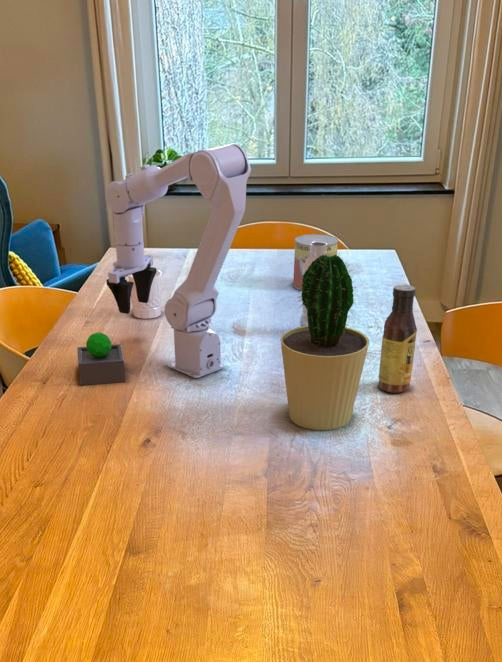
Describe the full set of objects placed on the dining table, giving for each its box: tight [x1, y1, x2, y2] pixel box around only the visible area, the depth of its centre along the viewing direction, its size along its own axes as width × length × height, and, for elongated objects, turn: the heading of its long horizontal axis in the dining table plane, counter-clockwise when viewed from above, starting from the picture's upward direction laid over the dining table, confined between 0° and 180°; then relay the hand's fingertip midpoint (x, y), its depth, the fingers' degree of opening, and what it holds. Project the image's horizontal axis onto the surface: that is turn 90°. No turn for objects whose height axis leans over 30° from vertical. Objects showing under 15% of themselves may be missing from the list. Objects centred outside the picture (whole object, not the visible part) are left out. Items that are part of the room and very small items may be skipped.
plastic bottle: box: [299, 242, 327, 327], centre depth 177 cm, size 6×7×20 cm
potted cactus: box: [280, 251, 370, 431], centre depth 138 cm, size 15×15×30 cm
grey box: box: [76, 343, 127, 386], centre depth 162 cm, size 9×9×5 cm
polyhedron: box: [85, 331, 113, 358], centre depth 160 cm, size 5×5×5 cm
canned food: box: [292, 233, 340, 291], centre depth 209 cm, size 11×11×12 cm
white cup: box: [127, 269, 163, 320], centre depth 191 cm, size 8×8×10 cm
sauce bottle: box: [378, 284, 418, 394], centre depth 151 cm, size 6×6×20 cm
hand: (134, 307), depth 170 cm, fingers open, 7 cm apart
